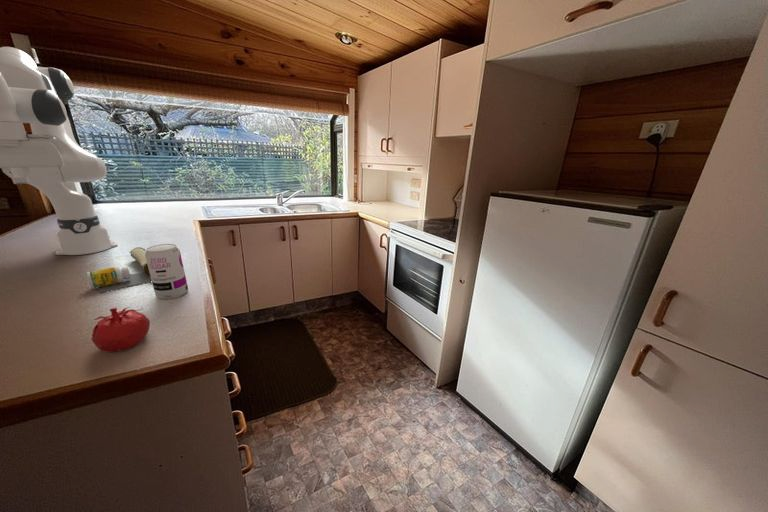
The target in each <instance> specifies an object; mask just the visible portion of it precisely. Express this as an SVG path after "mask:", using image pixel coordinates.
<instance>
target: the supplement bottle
mask: <svg viewBox="0 0 768 512" xmlns="http://www.w3.org/2000/svg"><path fill="white" fill-rule="evenodd" d="M130 274H131V273H130V270H129V267H128V266H125V267H122V268H120V267H118V266H113V267H107V268H103V269H97V270H92V271H87V272H86V276H87V281H88V283H89V286H90V288H91V289H93V290H94V289H98V287H103V286H108V285H113V284H118V283H121V282H122V281H123V279H131V276H130Z"/></svg>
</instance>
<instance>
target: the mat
mask: <svg viewBox="0 0 768 512" xmlns="http://www.w3.org/2000/svg"><path fill="white" fill-rule="evenodd" d="M130 276H131V279H123V281H122V282H121V283H118V284H113V285H108V286H103V287H98V288H97V291H98V294H99V293H100V294H103V293H102V292H105V293H108V292H107V291H109V292H112V291H111V290H114V291H117V290H116V289H118V290H121V288H122V289H126V288H125V287H127V288H130V286H131V287H135V286H134V285H136V286H140V285H144V284H143V283H145V284H148V283H147V282H149V283H152V282H151V281H152V280H151V276H149V275H146V273H145V272H144V271H140V272H135V273H130ZM139 284H140V285H139Z"/></svg>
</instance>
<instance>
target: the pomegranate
mask: <svg viewBox="0 0 768 512" xmlns="http://www.w3.org/2000/svg"><path fill="white" fill-rule="evenodd" d="M129 308H130V307H125V308H122V310H120V311H119V310H118V308H117V307H112V308H109V311H110V313H111V315H108V316H98V317H97V318H94V319H93V320H95V321H97V320H98V321H97V323H96V325H95V326H94V327H93V329H92V335H91V342H92V343H93V344H94V345H95V347H96V348H97V349H99V350H100V351H102V352H106V353H115V352H119V351H123V352H125V351H127V350H130V349H132V348H134V347H135V346H137V345H138V344H139V343H141V342H143V340H144V339H145V338H146V336H147V335H148V333H149V330H150V326H151V325H150V324H151V322H150V319H149V318H148V317H147V316H146V315H145V314H144V313H142V312H138V311H140V309H132V308H131V309H129ZM117 310H118V311H117Z"/></svg>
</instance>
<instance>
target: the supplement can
mask: <svg viewBox="0 0 768 512" xmlns="http://www.w3.org/2000/svg"><path fill="white" fill-rule="evenodd" d="M145 250H146V253H145V257H146V261H147V265H148V269H149V272H150V276H151V280H152V282H151V283H152V288H153V291H154V294H155V297H156V298H159V299H160V300H172V298H173V299H176V297H177V298H179V297H178V296H180V297H182V296H184V295H185V294H186V293H187V292H189V291H188V290H189V287H188V283H187V281H188V280H187V278H186V271H185V267H184V264H183V259H182V253H181V250H180V249H179V247H178V246H177V245H176V244H173V243H163V244H157V245H152V246H149V247H147V248H146V249H145ZM185 292H186V293H185ZM184 293H185V294H184ZM183 294H184V295H183ZM181 295H182V296H181Z"/></svg>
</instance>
